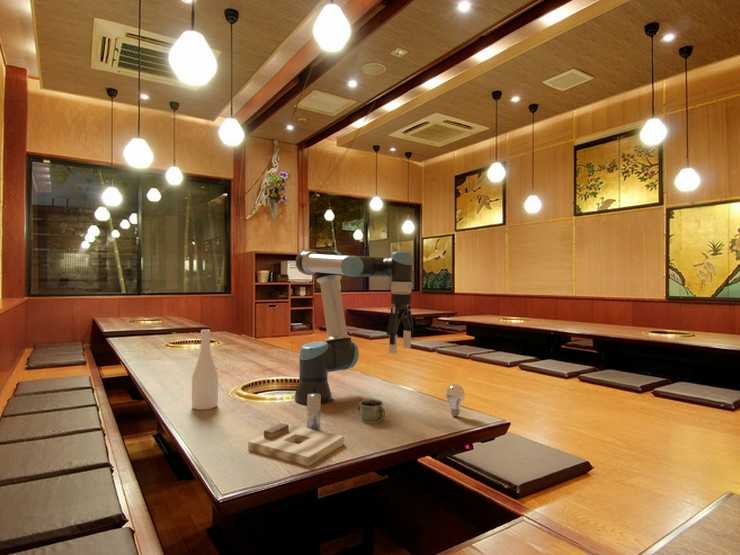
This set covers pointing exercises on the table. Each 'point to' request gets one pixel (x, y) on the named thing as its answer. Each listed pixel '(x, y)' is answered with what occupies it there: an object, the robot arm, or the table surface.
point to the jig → (282, 443)
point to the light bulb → (455, 398)
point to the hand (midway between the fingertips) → (400, 350)
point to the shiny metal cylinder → (313, 411)
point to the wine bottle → (205, 377)
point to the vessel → (371, 411)
